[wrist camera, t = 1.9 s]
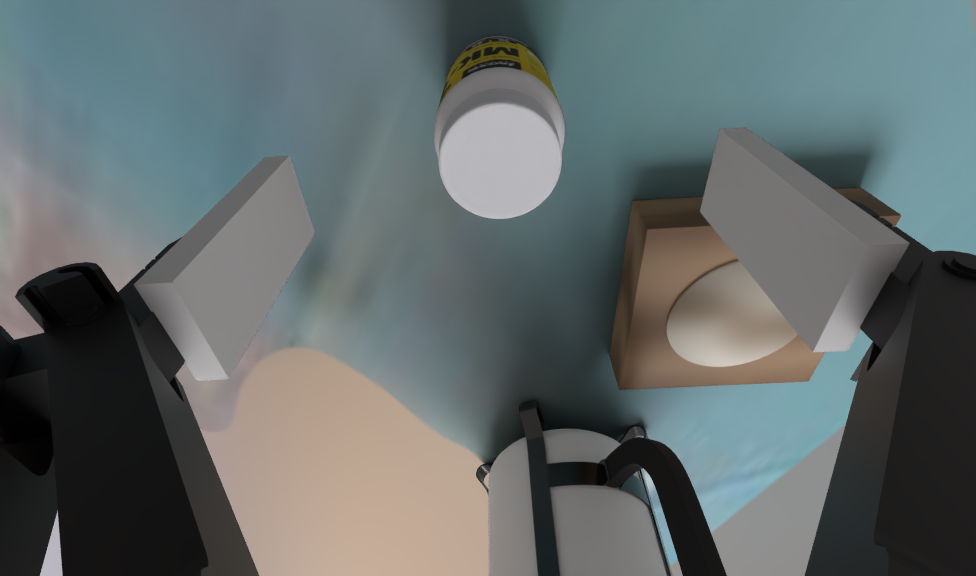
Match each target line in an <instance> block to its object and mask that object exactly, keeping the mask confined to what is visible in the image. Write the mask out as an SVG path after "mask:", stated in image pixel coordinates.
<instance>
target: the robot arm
mask: <svg viewBox="0 0 976 576" xmlns="http://www.w3.org/2000/svg"><path fill="white" fill-rule="evenodd" d="M700 212H701V214H702V215H703V216H704V217H705V219H706V220H707V221H708V222H709V224H710V225H711V226H712V227H713V229H714V230H715V231H716V232H717V234H718V235H719V236H720V237H721V239H722V240H723V241H724V242H725V244H726V245H727V246H728V247H729V249H730V250H731V251H732V252H733V254H734V255H735V256H736V257H737V259H738V260H739V261H740V262H741V264H742V265H743V266H744V267H745V269H746V270H747V271H748V272H749V274H750V275H751V276H752V277H753V279H754V280H755V281H756V282H757V284H758V285H759V286H760V287H761V289H762V290H763V291H764V292H765V294H766V295H767V296H768V297H769V299H770V300H771V301H772V302H773V304H774V305H775V306H776V307H777V309H778V310H779V311H780V312H781V314H782V315H783V316H784V317H785V319H786V320H787V321H788V322H789V324H790V325H791V326H792V327H793V329H794V330H795V331H796V332H797V334H798V335H799V336H800V337H801V338H802V340H803V341H804V342H805V343H806V345H807V346H808V347H809V348H810V350H811V351H812V352H832V351H848V350H849V349H850V347H851V345H852V343H853V342H854V340H855V338H856V336H857V335H858V333H859V331H860V329H861V330H862V331H863V332H864V333H865V334H866V335H867V336H868V337H869V338H870V339H871V340H872V341H873V343H872V344H871V346H870V347H869V349H868V351H867V352H866V354H865V356H864V357H863V359H862V361H861V362H860V364H859V366H858V367H857V369H856V370H855V372H854V374H853V375H852V377H851V379H850V380H853V381H855V382H856V381H857V380H858V382H857V386H856V389H855V393H854V397H853V400H852V404H851V408H850V411H849V415H848V419H847V422H846V426H845V430H844V434H843V437H842V441H841V444H840V448H839V452H838V455H837V459H836V463H835V466H834V470H833V474H832V477H831V481H830V485H829V489H828V492H827V496H826V500H825V503H824V507H823V511H822V514H821V518H820V522H819V525H818V529H817V532H816V537H815V540H814V543H813V547H812V551H811V555H810V558H809V562H808V565H807V569H806V573H805V576H976V255H972V254H968V253H962V252H956V251H935V252H932V251H931V250H929V249H928V248H926V247H925V246H923V245H922V244H920V243H919V242H917V241H916V240H915V239H913V238H912V237H910V236H909V235H907V234H906V233H904V232H903V231H901V230H900V229H899V228H897V227H893V224H891V223H890V222H888V221H887V220H886V219H884V218H880V215H878V214H877V213H875V212H874V211H872V210H871V209H870V208H868V207H867V206H865V205H863V204H861V203H858V202H856V201H853V200H851V199H849V198H846V197H844V196H842V195H841V194H839V193H838V192H836V191H835V190H834V189H832V188H831V187H829V186H828V185H827V184H825V183H824V182H822V181H821V180H819V179H818V178H817V177H815V176H814V175H812V174H811V173H810V172H808V171H807V170H805V169H804V168H802V167H801V166H800V165H798V164H797V163H795V162H794V161H793V160H791V159H790V158H788V157H787V156H785V155H784V154H783V153H781V152H780V151H778V150H777V149H775V148H774V147H773V146H771V145H770V144H768V143H767V142H766V141H764V140H763V139H761V138H760V137H758V136H757V135H756V134H754V133H753V132H751V131H750V130H749V129H747V128H746V127H745V128H729V129H720V130H719V134H718V138H717V142H716V147H715V151H714V155H713V159H712V163H711V167H710V172H709V176H708V180H707V184H706V188H705V192H704V197H703V201H702V205H701V209H700ZM314 234H315V232H314V229H313V226H312V223H311V220H310V217H309V214H308V211H307V208H306V205H305V202H304V199H303V196H302V193H301V189H300V186H299V183H298V180H297V177H296V174H295V171H294V168H293V165H292V162H291V159H290V156H279V157H265V158H264V159H263V160H262V161H261V162H260V163H259V164H258V165H257V166H256V167H255V168H254V169H253V170H252V171H250V172H249V173H248V174H247V175H246V176H245V177H244V178H243V179H242V180H241V181H240V182H239V183H238V184H237V185H236V186H235V187H234V188H233V189H232V190H231V191H230V192H229V193H228V194H227V195H226V196H225V197H224V198H223V199H222V200H221V201H219V202H218V203H217V204H216V205H215V206H214V207H213V208H212V209H211V210H210V211H209V212H208V213H207V214H206V215H205V216H204V217H203V218H202V219H201V220H200V221H199V222H198V223H197V224H196V225H195V226H194V227H193V228H192V229H191V230H190V231H188V232H187V233H186V234H185V235H184V236H183V237H181V238H180V239H178V240H176V241H175V242H173V243H171V244H169V245H168V246H167V247H166V248H165V249H163V250H162V251H161V252H160V253H159V254H158V255H157V256H156V257H155V258H156V259H154V260H152V261H151V262H150V263H149V264H148V265H147V266H146V267H145V269H142V270H141V271H140V272H139V273H138V274H137V275H136V276H135V277H134V278H133V279H132V280H131V281H130V282H129V283H128V284H127V285H125V286H124V287H123V288H122V289H121V290H120V291H119V292H117V291H116V289H115V288H114V286H113V285H112V283H111V282H110V280H109V279H108V278H107V276H106V275H105V273H104V272H103V270H102V269H101V267H99V266H98V265H97V264H96V263H88V262H84V263H75V264H70V265H67V266H63V267H59V268H56V269H54V270H51V271H49V272H46V273H44V274H41V275H39V276H38V277H36V278H34V279H32V280H31V281H29V282H27V283H26V284H25V285H24V286H23V287H21V288H20V289H19V290H18V292H17V294H16V296H15V298H16V299H17V300H18V301H19V302H20V303H21V305H22V306H23V307H24V308H25V309H26V310H27V312H28V313H29V314H30V315H31V316H32V317H33V318H34V320H35V321H36V322H37V323H38V324H39V325H40V327H41V328H42V329H43V330H44V333H41V334H37V335H33V336H29V337H25V338H21V339H16V340H14V339H13V338H12V337H11V336H10V335H9V334H8V333H7V332H6V330H5V329H4V328H3V327H2V326H0V576H40V573H41V568H42V565H43V562H44V558H45V554H46V550H47V547H48V543H49V539H50V536H51V532H52V528H53V525H54V521H55V518H56V514H57V510H58V518H59V532H60V545H61V558H62V571H63V576H259V574H258V572H257V569H256V567H255V564H254V562H253V559H252V557H251V554H250V552H249V549H248V547H247V545H246V542H245V540H244V537H243V535H242V532H241V530H240V527H239V525H238V522H237V520H236V517H235V515H234V512H233V510H232V507H231V505H230V502H229V500H228V497H227V495H226V493H225V490H224V488H223V486H222V483H221V480H220V478H219V475H218V473H217V470H216V468H215V465H214V463H213V461H212V458H211V456H210V453H209V451H208V448H207V446H206V443H205V441H204V438H203V436H202V433H201V431H200V428H199V426H198V423H197V421H196V419H195V416H194V414H193V411H192V409H191V406H190V404H189V401H188V399H187V396H186V394H185V391H184V389H183V386H182V385H181V383H180V382H179V381H178V379H177V378H176V376H175V375H176V374H177V372H178V371H179V369H180V368H181V367H182V365H183V364H184V362H185V364H186V365H187V367H188V369H189V370H190V372H191V373H192V375H193V376H194V378H195V379H196V381H200V380H222V379H229V378H230V377H231V375H232V373H233V372H234V370H235V368H236V366H237V365H238V363H239V361H240V360H241V358H242V356H243V355H244V353H245V351H246V349H247V348H248V346H249V344H250V343H251V341H252V339H253V338H254V336H255V334H256V333H257V331H258V329H259V327H260V326H261V324H262V322H263V321H264V319H265V317H266V316H267V314H268V312H269V310H270V309H271V307H272V305H273V304H274V302H275V300H276V299H277V297H278V295H279V294H280V292H281V290H282V288H283V287H284V285H285V283H286V282H287V280H288V278H289V277H290V275H291V273H292V271H293V270H294V268H295V266H296V265H297V263H298V261H299V260H300V258H301V256H302V255H303V253H304V251H305V249H306V248H307V246H308V244H309V243H310V241H311V239H312V238H313V236H314Z"/></svg>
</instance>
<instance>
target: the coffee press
mask: <svg viewBox="0 0 976 576" xmlns="http://www.w3.org/2000/svg"><path fill="white" fill-rule="evenodd" d="M519 413H520V417H521V421H522V425H523V428H524V432H525V437H524V438H522V439H520V440H518V441H516V442H514V443H512V444H511V445H510V446H508V447H507V448H506V449H504V450H503V451H502V452H501V453H500V454H499V456H498V457H497V458H496V460H495V461H494V463H493V465H492V466H491V465H489V464H483V465H481V466H480V467H479V468H478V469H477V472H476V476H477V478H478V480H479V481H480V482H481V483H482V485H483V486H484V487H485V489H486V490H487V492H488V497H489V499H488V508H489V509H488V510H489V511H488V512H489V513H488V515H489V516H488V517H489V518H488V519H489V520H488V524H489V576H673V574H672V571H671V567H670V564H669V560H668V557H667V554H666V550H665V547H664V543H663V540H662V536H661V533H660V529H659V526H658V523H657V519H656V516H655V512H654V509H653V505H652V502H651V498H650V495H649V491H648V488H647V484H646V480H645V477H644V472H643V468H644V469H645V470H646V471H647V473H648V474H649V475H650V477H651V479H652V480H653V483H654V485H655V488H656V490H657V493H658V496H659V499H660V503H661V506H662V509H663V512H664V515H665V519H666V522H667V525H668V528H669V532H670V535H671V538H672V541H673V545H674V548H675V551H676V554H677V558H678V561H679V564H680V567H681V571H682V574H683V576H727V575H726V573H725V570H724V567H723V564H722V562H721V559H720V556H719V554H718V551H717V548H716V545H715V543H714V541H713V537H712V535H711V532H710V529H709V527H708V524H707V522H706V519H705V516H704V514H703V511H702V508H701V506H700V503H699V501H698V498H697V496H696V493H695V491H694V488H693V486H692V484H691V481H690V479H689V477H688V475H687V473H686V471H685V469H684V467H683V465H682V463H681V462H680V460H679V459H678V457H677V456H676V455H675V453H674V452H673V451H672V450H671V449H670V448H668V447H667V446H666V445H664V444H663V443H660V442H658V441H654V440H650V439H649V438H648V436H647V433H646V431H645V429H644V428H643V427H641V426H638V425H635V426H631V427H630V428H629V429H628V430H627V431H626V433H625V434H624V436H623V437H622V439H621V440H620V441H619V442H617V441H616V440H614V439H612V438H610V437H608V436H606V435H603V434H600V433H596V432H592V431H587V430H581V429H554V430H549V429H548V428H547V426H546V423H545V420H544V417H543V414H542V411H541V408H540V406H539V404H538V402H537V401H534V402H530V403H527V404H523V405H520V406H519ZM639 435H641V436H644V438H641V437H637V438H634V437H636V436H639ZM639 471H640V474H639ZM488 473H490V474H489V489H488V488H487V487H486V486H485V484H484V478H485V476H486V475H487V474H488ZM640 475H641V477H640ZM641 478H642V480H641ZM642 482H643V483H642ZM649 507H650V508H649ZM650 510H651V511H650ZM651 514H652V515H651ZM652 517H653V518H652ZM653 521H654V522H653ZM654 524H655V525H654ZM655 528H656V529H655ZM656 531H657V532H656ZM657 535H658V536H657ZM659 542H660V543H659ZM661 549H662V550H661ZM663 556H664V557H663ZM665 563H666V564H665ZM667 570H668V571H667Z"/></svg>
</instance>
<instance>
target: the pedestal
mask: <svg viewBox="0 0 976 576" xmlns="http://www.w3.org/2000/svg"><path fill="white" fill-rule="evenodd" d="M834 190H835V191H836V192H838V193H839V194H841V195H842V196H844V197H846V198H849V199H851V200H853V201H856V202H858V203H861V204H863V205H865V206H867V207H868V208H870V209H871V210H872V211H874V212H875V213H877V214H878V215H880V218H884V219H886V220H887V221H888V222H890V223H891V224H893V227H895V226H896V224H897V222H898V220H899V219H900V217H901V215H900V214H899V213H897V212H896V211H894V210H893V209H891V208H890V207H888V206H887V205H886V204H884V203H883V202H881V201H880V200H878V199H877V198H875V197H874V196H872V195H871V194H869V193H868V192H867V191H865V190H864V189H862V188H843V189H834ZM702 201H703V197H687V198H670V199H652V200H635V201H632V204H631V211H630V218H629V224H628V231H627V238H626V245H625V252H624V259H623V265H622V272H621V279H620V286H619V293H618V300H617V306H616V313H615V320H614V327H613V334H612V341H611V347H610V354H609V357H610V360H611V363H612V367H613V370H614V374H615V377H616V381H617V384H618V387H619V390H626V389H648V388H671V387H694V386H716V385H739V384H762V383H784V382H807V381H809V380H810V378H811V376H812V374H813V373H814V371H815V369H816V367H817V365H818V364H819V362H820V360H821V358H822V357H823V355H824V353H825V352H812V351H811V350H810V348H809V347H808V346H807V345H806V343H805V342H804V341H803V340H802V338H801V337H800V336H799V335H798V334H797V332H796V331H795V330H794V329H793V327H792V326H791V325H790V324H789V322H788V321H787V320H786V319H785V317H784V316H783V315H782V314H781V312H780V311H779V310H778V309H777V307H776V306H775V305H774V304H773V302H772V301H771V300H770V299H769V297H768V296H767V295H766V294H765V292H764V291H763V290H762V289H761V287H760V286H759V285H758V284H757V282H756V281H755V280H754V279H753V277H752V276H751V275H750V274H749V272H748V271H747V270H746V269H745V267H744V266H743V265H742V264H741V262H740V261H739V260H738V259H737V257H736V256H735V255H734V254H733V252H732V251H731V250H730V249H729V247H728V246H727V245H726V244H725V242H724V241H723V240H722V239H721V237H720V236H719V235H718V234H717V232H716V231H715V230H714V229H713V227H712V226H711V225H710V224H709V222H708V221H707V220H706V219H705V217H704V216H703V215H702V214H701V212H700V209H701V205H702Z"/></svg>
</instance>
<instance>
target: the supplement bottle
mask: <svg viewBox="0 0 976 576" xmlns="http://www.w3.org/2000/svg"><path fill="white" fill-rule="evenodd" d="M564 138H565V124H564V118H563V113H562V109H561V107H560V104H559V102H558V99H557V97H556V95H555V92H554V90H553V87H552V85H551V82H550V79H549V77H548V74H547V72H546V69H545V67H544V65H543V63H542V61H541V60H540V58H539V57H538V56H537V54H536V53H535V52H534V51H533V50H532V49H531V48H529V47H528V46H527V45H525V44H524V43H522V42H520V41H518V40H516V39H513V38H509V37H504V36H492V37H487V38H483V39H480V40H478V41H476V42H474V43H472V44H471V45H469V46H468V47H467V48H465V49H464V50H463V51H462V52H461V53H460V54H459V56H458V57H457V58H456V59H455V61H454V63H453V64H452V66H451V68H450V71H449V73H448V76H447V79H446V83H445V86H444V90H443V93H442V96H441V100H440V104H439V107H438V110H437V114H436V118H435V124H434V145H435V150H436V154H437V157H438V163H439V171H440V175H441V179H442V181H443V184H444V186H445V188H446V190H447V191H448V193H449V194H450V195H451V197H452V198H453V199H454V200H455V201H456V202H457V203H458V204H459V205H461V206H462V207H463V208H465V209H466V210H468V211H470V212H472V213H474V214H476V215H479V216H482V217H486V218H492V219H506V218H512V217H516V216H520V215H523V214H525V213H527V212H529V211H531V210H532V209H534V208H536V207H537V206H538V205H540V204H541V203H542V202H543V201H544V200H545V199H546V198H547V197H548V196H549V195H550V193H551V192H552V190H553V188H554V187H555V185H556V183H557V181H558V178H559V175H560V172H561V166H562V149H563V144H564Z"/></svg>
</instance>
